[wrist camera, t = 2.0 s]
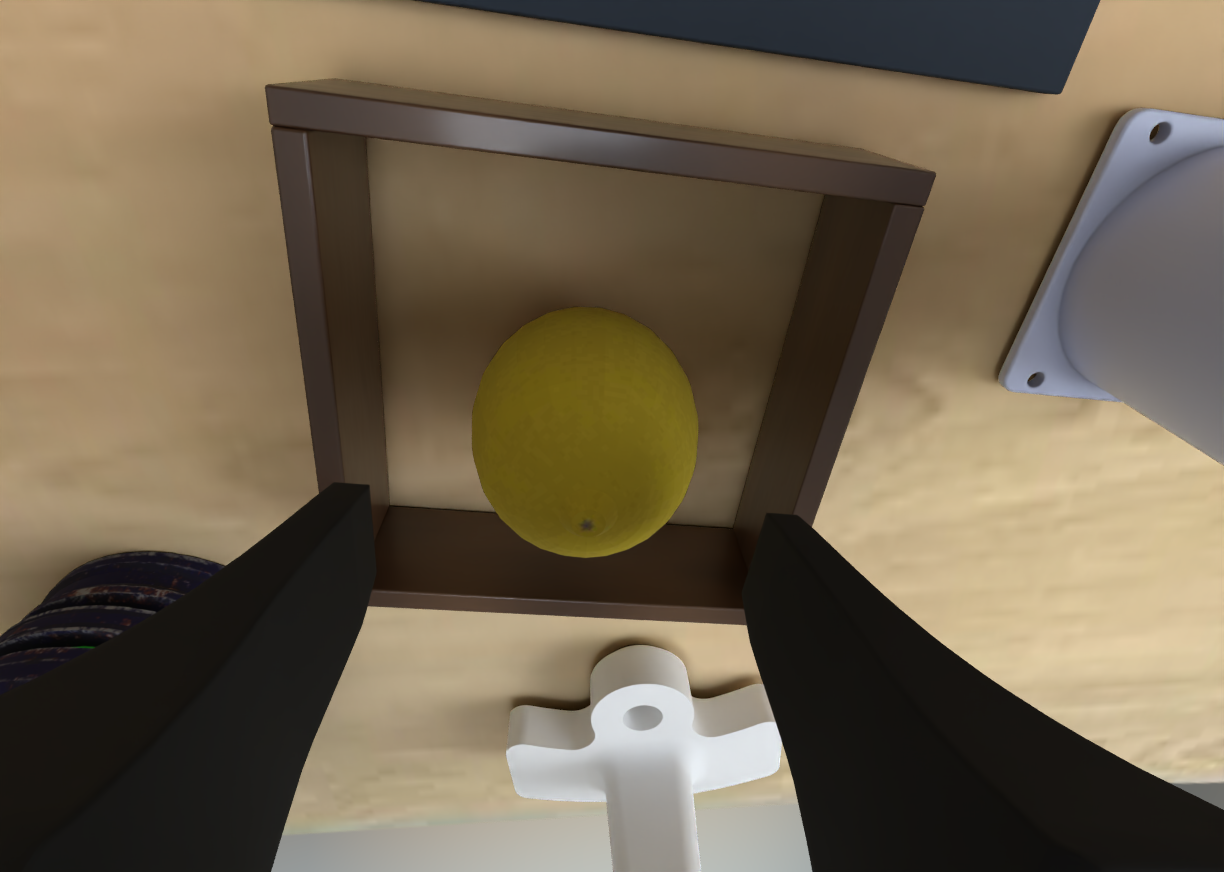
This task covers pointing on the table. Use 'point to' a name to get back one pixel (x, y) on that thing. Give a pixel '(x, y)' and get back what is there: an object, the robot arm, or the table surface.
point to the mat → (857, 31)
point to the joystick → (644, 753)
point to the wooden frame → (849, 177)
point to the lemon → (584, 432)
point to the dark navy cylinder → (95, 609)
